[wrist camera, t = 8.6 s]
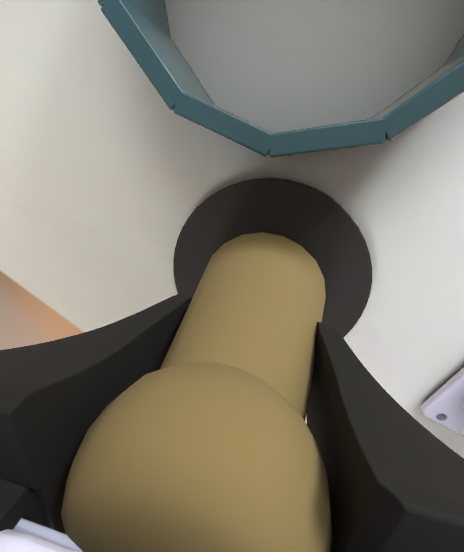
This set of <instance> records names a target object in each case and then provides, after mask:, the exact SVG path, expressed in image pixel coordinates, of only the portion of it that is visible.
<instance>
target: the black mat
mask: <svg viewBox="0 0 464 552" xmlns="http://www.w3.org/2000/svg"><path fill="white" fill-rule="evenodd" d="M260 232H264V233H269V234H274V235H280V236H284V237H286V238H288V239H289V240H291V241H293V242H295V243H297V244H299V245H301V246H302V247H303V248H304V249H305V250H306V251H307V252H308V253H309V254H310V255H311V256H312V257H313V258H314V259H315V260H316V262H317V264H318V266H319V268H320V270H321V273H322V275H323V277H324V281H325V295H326V298H325V304H324V310H323V316H322V322H321V323H327V324H332V325H334V326H335V327H336V328H337V330H338V331H339V333H340V334H341V336H342V337H344V336H345V335H346V334H347V333H348V332H349V331H350V330H351V329H352V328H353V327H354V325H355V324H356V322H357V321H358V320H359V318H360V317H361V315H362V313H363V311H364V309H365V307H366V304H367V301H368V298H369V295H370V290H371V283H372V265H371V259H370V254H369V251H368V247H367V244H366V241H365V239H364V237H363V235H362V233H361V231H360V230H359V228H358V226H357V225H356V224H355V222H354V221H353V219H352V218H351V217H350V215H349V214H348V213H347V212H346V211H345V210H344V209H343V208H342V207H341V206H340V205H339V204H338V203H336V202H335V201H334V200H333V199H331V198H330V197H329V196H327V195H325V194H324V193H322V192H320V191H318V190H317V189H315V188H312V187H310V186H307V185H304V184H302V183H298V182H294V181H290V180H285V179H275V178H265V179H254V180H248V181H243V182H240V183H237V184H234V185H231V186H229V187H227V188H224V189H222V190H220V191H218V192H217V193H215V194H214V195H212V196H211V197H209V198H208V199H206V200H205V201H204V202H203V203H202V204H201V205H200V206H198V207H197V208H196V210H195V211H194V212H193V213H192V214H191V216H190V217H189V218H188V220H187V221H186V223H185V225H184V226H183V228H182V230H181V233H180V235H179V237H178V240H177V244H176V248H175V254H174V278H175V284H176V288H177V291H178V295H183V296H188V297H192V298H193V296H194V293H195V291H196V289H197V287H198V285H199V282H200V280H201V278H202V276H203V274H204V271H205V269H206V267H207V265H208V263H209V261H210V259H211V257H212V255H213V254H214V253H215V252H216V251H217V250H218V249H219V248H220V247H221V246H222V245H223V244H224V243H226V242H228V241H230V240H232V239H234V238H236V237H238V236H240V235H244V234H252V233H260Z"/></svg>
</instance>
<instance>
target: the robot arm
mask: <svg viewBox="0 0 464 552" xmlns="http://www.w3.org/2000/svg"><path fill="white" fill-rule="evenodd" d="M191 300H192V297H188V296H183V295H178V294H177V295H175V296H172V297H170V298H168V299H166V300H164V301H162V302H159V303H157V304H155V305H153V306H151V307H149V308H147V309H145V310H143V311H140V312H138V313H136V314H134V315H131V316H129V317H127V318H124V319H122V320H119V321H117V322H115V323H112V324H109V325H107V326H104V327H101V328H98V329H95V330H92V331H89V332H85V333H82V334H79V335H75V336H70V337H66V338H63V339H59V340H55V341H50V342H46V343H41V344H36V345H31V346H25V347H20V348H13V349H6V350H0V552H83V551H82V550H81V549H80V548H79V547H78V546H77V545H76V544H75V543H74V542H73V541H72V540H71V539H70V538H69V537H68V535H67V534H65V530H64V526H63V522H62V517H61V510H62V504H63V498H64V492H65V487H66V481H67V478H68V475H69V472H70V469H71V466H72V463H73V460H74V458H75V456H76V454H77V451H78V449H79V447H80V445H81V443H82V441H83V439H84V437H85V434H86V432H87V430H88V429H89V427H90V426H91V425H92V424H93V422H94V421H95V420H96V419H97V417H98V416H99V415H100V414H101V412H102V411H103V410H104V409H105V407H106V406H107V405H108V404H110V403H111V402H112V401H113V400H114V399H115V398H117V397H118V396H119V395H120V394H121V393H123V392H124V391H125V390H126V389H127V388H129V387H130V386H131V385H133V384H134V383H135V382H136V381H138V380H139V379H140V378H141V377H143V376H144V375H145V374H148V373H151V372H154V371H157V370H160V368H161V366H162V363H163V361H164V359H165V357H166V355H167V352H168V350H169V348H170V346H171V344H172V341H173V339H174V337H175V335H176V333H177V331H178V328H179V326H180V324H181V322H182V320H183V317H184V315H185V313H186V311H187V309H188V307H189V304H190V302H191ZM421 410H422V413H423V415H424V416H425V417H427V418H429V419H431V420H433V421H435V422H437V423H439V424H441V425H443V426H445V427H447V428H449V429H451V430H453V431H455V432H457V433H459V434H461V435H463V436H464V367H463V368H462V369H461V370H460V371H459V372H458V373H456V374H455V375H454V376H453V377H452V378H451V379H450V380H449V381H447V382H446V383H445V384H444V385H443V386H442V387H441V388H440V389H438V390H437V391H436V392H435V393H434V394H433V395H432V396H431V397H430V398H428V399H427V400H426V401H425V402H424V403H423V404H422V405H421ZM441 413H443V414H441ZM438 414H440V415H438ZM306 417H307V426H308V428H309V430H310V432H311V434H312V435H313V437H314V439H315V441H316V443H317V444H318V447H319V450H320V453H321V456H322V459H323V462H324V465H325V469H326V472H327V476H328V487H329V498H330V510H331V522H332V535H333V537H332V546H331V552H464V459H463V458H462V457H461V456H459V455H458V454H457V453H455V452H454V451H453V450H451V449H450V448H449V447H448V446H446V445H445V444H444V443H443V442H441V441H440V440H439V439H438V438H436V437H435V436H434V435H433V434H431V433H430V432H429V431H428V430H427V429H426V428H424V427H423V426H422V425H421V424H420V423H419V422H418V421H416V420H415V419H414V418H413V417H412V416H411V415H410V414H409V413H407V412H406V411H405V410H404V409H403V408H402V407H401V406H400V405H399V404H398V403H397V402H396V401H395V400H394V399H393V398H392V397H391V396H390V395H389V394H388V393H387V392H386V391H385V390H384V389H383V388H382V387H381V386H380V384H379V383H378V382H377V381H376V380H375V379H374V378H373V376H372V375H371V374H370V373H369V372H368V371H367V369H366V368H365V367H364V366H363V364H362V363H361V362H360V361H359V359H358V358H357V357H356V355H355V354H354V353H353V351H352V350H351V349H350V347H349V346H348V344H347V343H346V342H345V340H344V339H343V337H342V336H341V334H340V333H339V331H338V330H337V328H336V327H335V326H334V325H332V324H327V323H321V322H317V331H316V345H315V364H314V370H313V376H312V382H311V388H310V394H309V400H308V406H307V411H306Z"/></svg>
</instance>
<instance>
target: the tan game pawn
mask: <svg viewBox="0 0 464 552" xmlns="http://www.w3.org/2000/svg"><path fill="white" fill-rule="evenodd" d="M325 298H326V295H325V281H324V277H323V275H322V273H321V270H320V268H319V266H318V264H317V262H316V260H315V259H314V258H313V257H312V256H311V255H310V254H309V253H308V252H307V251H306V250H305V249H304V248H303V247H302V246H301V245H299V244H297V243H295V242H293V241H291V240H289V239H288V238H286V237H284V236H280V235H274V234H269V233H264V232H260V233H252V234H244V235H240V236H238V237H236V238H234V239H232V240H230V241H228V242H226V243H224V244H223V245H222V246H221V247H220V248H219V249H218V250H217V251H216V252H215V253H214V254H213V255H212V257H211V259H210V261H209V263H208V265H207V267H206V269H205V271H204V274H203V276H202V278H201V280H200V282H199V285H198V287H197V289H196V291H195V293H194V296H193V298H192V300H191V302H190V304H189V307H188V309H187V311H186V313H185V315H184V317H183V320H182V322H181V324H180V326H179V328H178V331H177V333H176V335H175V337H174V339H173V341H172V344H171V346H170V348H169V350H168V352H167V355H166V357H165V359H164V361H163V363H162V366H161V368H160V370H157V371H154V372H151V373H148V374H145V375H144V376H143V377H141V378H140V379H139V380H138V381H136V382H135V383H134V384H133V385H131V386H130V387H129V388H127V389H126V390H125V391H124V392H123V393H121V394H120V395H119V396H118V397H117V398H115V399H114V400H113V401H112V402H111V403H110V404H108V405H107V406H106V407H105V409H104V410H103V411H102V412H101V414H100V415H99V416H98V417H97V419H96V420H95V421H94V422H93V424H92V425H91V426H90V427H89V429H88V430H87V432H86V434H85V437H84V439H83V441H82V443H81V445H80V447H79V449H78V451H77V454H76V456H75V458H74V460H73V463H72V466H71V469H70V472H69V475H68V478H67V481H66V487H65V492H64V498H63V504H62V510H61V517H62V522H63V526H64V530H65V534H67V535H68V537H69V538H70V539H71V540H72V541H73V542H74V543H75V544H76V545H77V546H78V547H79V548H80V549H81V550H82V551H83V552H331V546H332V537H333V535H332V522H331V510H330V498H329V487H328V476H327V472H326V469H325V465H324V462H323V459H322V456H321V453H320V450H319V447H318V444H317V443H316V441H315V439H314V437H313V435H312V434H311V432H310V430H309V428H308V426H307V425H306V423H305V417H306V411H307V406H308V400H309V394H310V388H311V382H312V376H313V370H314V364H315V345H316V331H317V322H322V316H323V310H324V304H325Z"/></svg>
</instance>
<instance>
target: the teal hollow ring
mask: <svg viewBox="0 0 464 552" xmlns="http://www.w3.org/2000/svg"><path fill="white" fill-rule="evenodd" d="M98 2H99V4H100V6H102V8H101V10H102V12H103V14H104V15H105V17H106V18H107V19H108V21H109V22H110V24H111V25H112V27H113V28H114V29H115V31H116V32H117V34H118V35H119V37H120V38H121V39H122V41H123V42H124V44H125V45H126V47H127V48H128V50H129V51H130V52H131V54H132V55H133V57H134V58H135V60H136V61H137V62H138V64H139V65H140V67H141V68H142V70H143V71H144V73H145V74H146V75H147V77H148V78H149V80H150V81H151V83H152V84H153V85H154V87H155V88H156V90H157V91H158V93H159V94H160V96H161V97H162V98H163V100H164V101H165V103H166V104H167V106H168V107H169V108H170V109H171V110H174V113H176V114H178V115H180V116H182V117H184V118H186V119H188V120H190V121H192V122H194V123H197V124H199V125H201V126H203V127H205V128H207V129H209V130H211V131H213V132H215V133H217V134H220V135H222V136H224V137H226V138H228V139H230V140H232V141H234V142H236V143H238V144H240V145H243V146H245V147H247V148H249V149H251V150H253V151H255V152H257V153H259V154H261V155H263V156H270V157H276V156H284V155H292V154H301V153H309V152H317V151H325V150H333V149H341V148H349V147H357V146H365V145H374V144H382V143H384V142H385V141H389V140H392V139H393V138H395V137H396V136H398V135H399V134H401V133H402V132H404V131H405V130H407V129H408V128H410V127H411V126H413V125H414V124H416V123H417V122H419V121H420V120H422V119H423V118H425V117H426V116H428V115H429V114H431V113H432V112H434V111H435V110H437V109H438V108H440V107H441V106H443V105H444V104H446V103H447V102H449V101H450V100H452V99H453V98H455V97H456V96H458V95H459V94H461V93H462V92H464V35H463V37H462V38H461V40H460V42H459V43H458V45H457V46H456V48H455V49H454V51H453V53H452V54H451V56H450V57H449V59H448V61H447V62H446V64H445V65H444V67H442V68H441V69H440V70H438V71H437V72H435V73H434V74H433V75H431V76H430V77H428V78H427V79H426V80H424V81H423V82H421V83H420V84H419V85H417V86H416V87H414V88H413V89H412V90H410V91H409V92H407V93H406V94H405V95H403V96H402V97H400V98H399V99H398V100H396V101H395V102H393V103H392V104H391V105H389V106H388V107H386V108H385V109H384V110H382V111H381V112H379V113H378V114H377V115H375V116H374V117H372V118H371V119H369V120H362V121H355V122H348V123H342V124H335V125H328V126H321V127H314V128H307V129H300V130H293V131H286V132H279V133H271V132H269V131H266V130H264V129H262V128H260V127H258V126H256V125H254V124H252V123H250V122H248V121H245V120H243V119H241V118H239V117H237V116H235V115H233V114H231V113H229V112H226V111H224V110H222V109H220V108H218V107H216V106H215V104H214V103H213V101H212V100H211V98H210V97H209V95H208V94H207V92H206V91H205V89H204V88H203V86H202V85H201V83H200V82H199V80H198V79H197V77H196V76H195V74H194V73H193V71H192V70H191V68H190V67H189V65H188V63H187V62H186V60H185V59H184V57H183V56H182V54H181V53H180V51H179V50H178V48H177V47H176V45H175V44H174V42H173V41H172V39H171V38H170V33H169V26H168V20H167V14H166V8H165V1H164V0H98Z"/></svg>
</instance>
